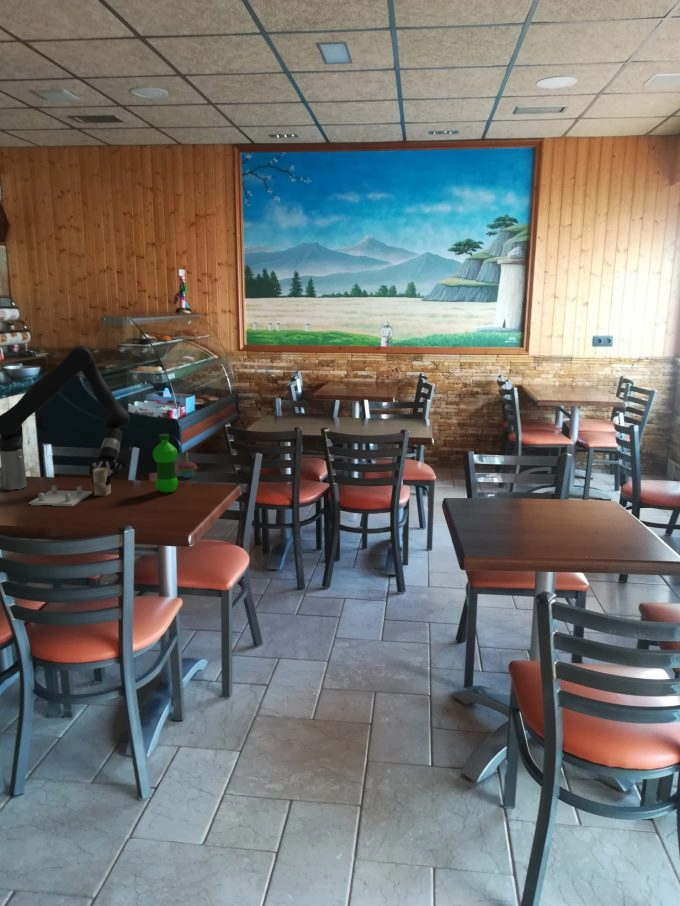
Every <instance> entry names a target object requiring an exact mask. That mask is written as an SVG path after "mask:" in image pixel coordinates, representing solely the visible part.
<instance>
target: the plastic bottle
mask: <svg viewBox="0 0 680 906" xmlns="http://www.w3.org/2000/svg"><path fill="white" fill-rule="evenodd" d="M158 436H159V437H158V438H159V441H160V443H159V444H157V446H156V447H154V448H153V451H152V458H153V460H154V461H155V462H156V480H155V484H154V485H155V487H156V489H157V490H158V491H159V492H160V493H162V492H171V493H173V492H174V491H175V490H176V489H177V488H178V486H179V480H178V477H177V476H176V460H177V459H178V450H177V448H176V447H175V446H174V445H173V444H171V442H169V440H170V434H169V433H162V434H159V435H158ZM172 491H173V492H172Z"/></svg>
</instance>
